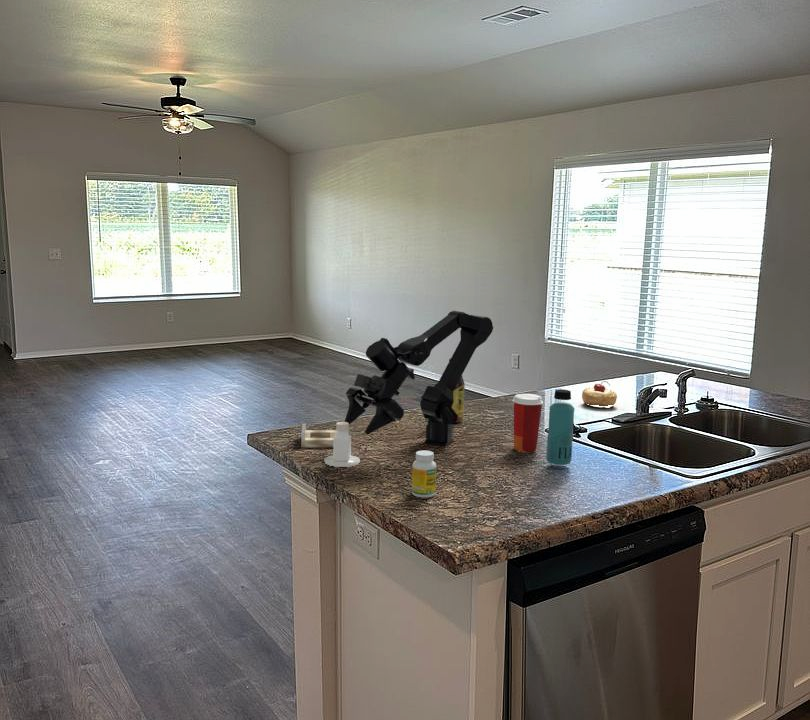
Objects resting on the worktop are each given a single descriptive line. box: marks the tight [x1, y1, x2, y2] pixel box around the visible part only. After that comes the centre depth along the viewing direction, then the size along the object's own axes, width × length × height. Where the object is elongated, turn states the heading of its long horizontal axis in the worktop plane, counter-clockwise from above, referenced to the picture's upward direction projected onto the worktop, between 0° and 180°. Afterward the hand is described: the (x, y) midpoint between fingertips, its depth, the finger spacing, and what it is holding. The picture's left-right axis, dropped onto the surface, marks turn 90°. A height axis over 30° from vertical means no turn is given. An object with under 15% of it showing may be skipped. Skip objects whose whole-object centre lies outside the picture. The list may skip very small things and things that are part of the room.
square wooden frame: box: [300, 423, 337, 448], centre depth 202 cm, size 10×10×4 cm
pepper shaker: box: [332, 421, 352, 462], centre depth 184 cm, size 4×4×10 cm
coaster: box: [323, 454, 361, 468], centre depth 185 cm, size 9×9×1 cm
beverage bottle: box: [545, 388, 575, 466], centre depth 185 cm, size 6×7×20 cm
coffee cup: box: [511, 393, 544, 453], centre depth 200 cm, size 8×8×15 cm
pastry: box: [581, 380, 618, 406], centre depth 257 cm, size 12×12×9 cm
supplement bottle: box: [411, 450, 437, 499], centre depth 164 cm, size 5×5×10 cm
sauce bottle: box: [448, 357, 466, 424], centre depth 228 cm, size 7×6×20 cm
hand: (355, 429), depth 186 cm, fingers open, 9 cm apart
